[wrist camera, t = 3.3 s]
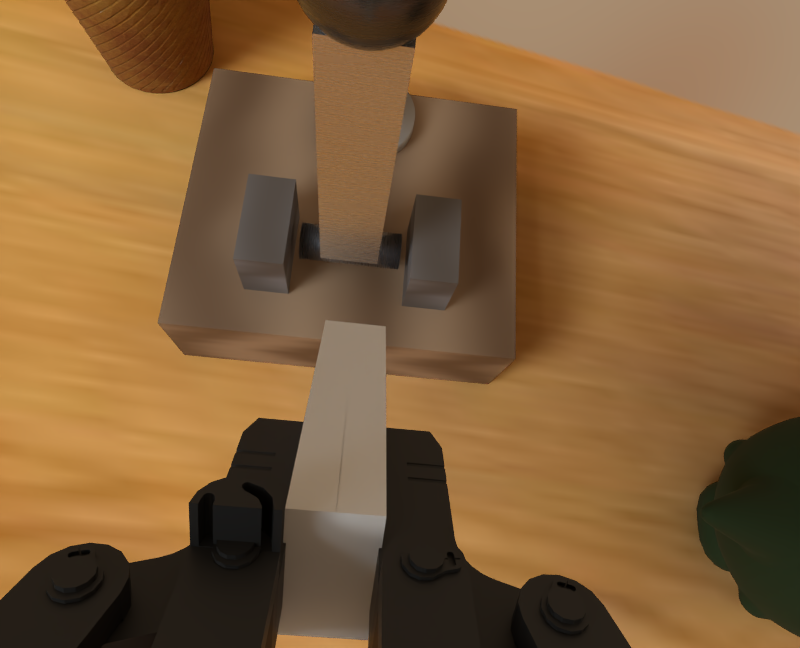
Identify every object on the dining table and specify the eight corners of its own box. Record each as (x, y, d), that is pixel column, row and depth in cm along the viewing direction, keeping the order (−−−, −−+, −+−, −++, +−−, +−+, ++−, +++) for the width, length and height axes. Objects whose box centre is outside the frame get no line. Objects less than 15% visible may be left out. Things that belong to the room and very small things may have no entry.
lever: (296, 286, 26) (245, -83, 10) (307, 212, 28) (275, -219, 12) (394, 297, 27) (489, -45, 11) (400, 223, 28) (493, -180, 12)
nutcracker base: (184, 354, 30) (134, 295, 23) (231, 122, 35) (203, 9, 28) (487, 384, 32) (538, 337, 24) (492, 156, 37) (536, 57, 29)
